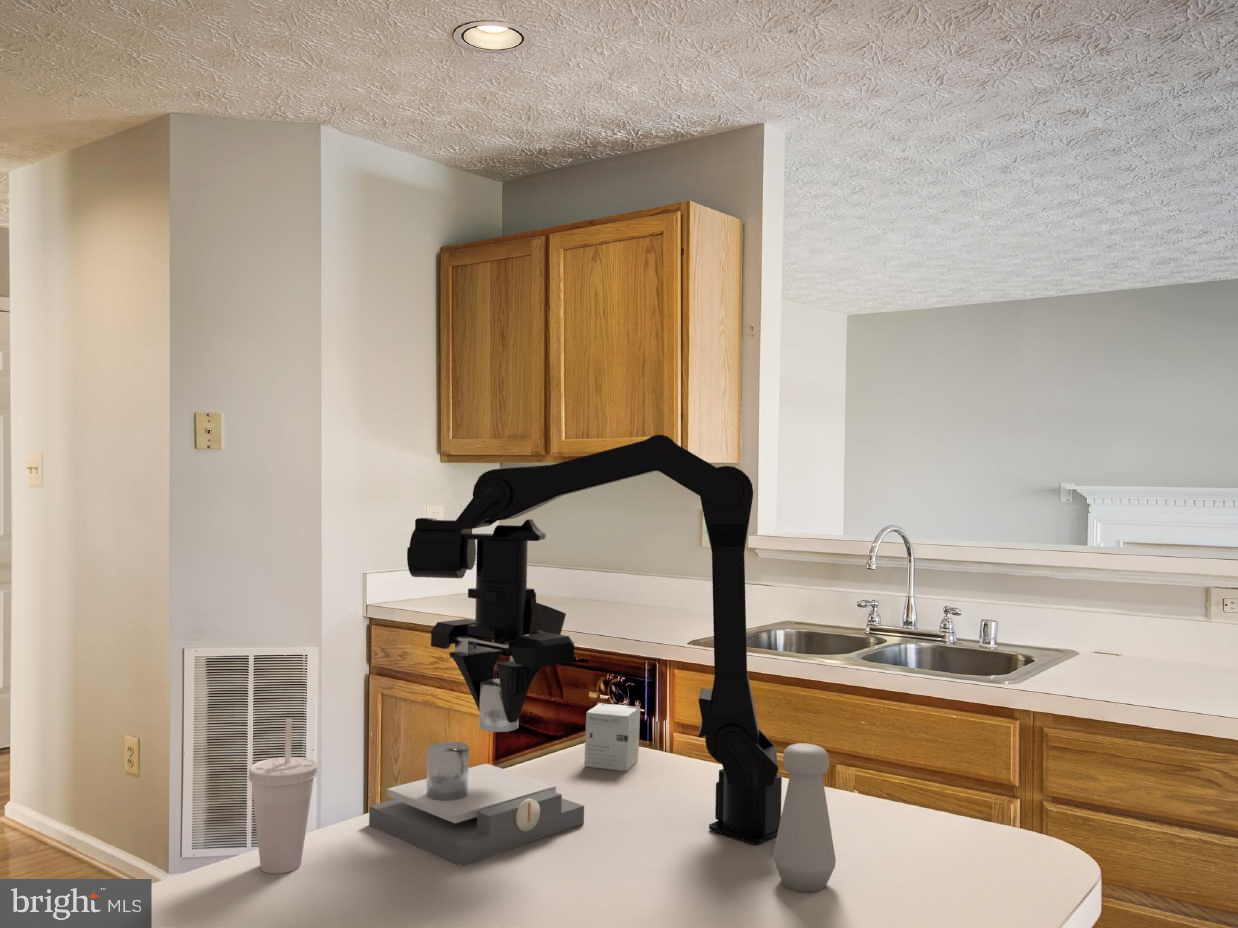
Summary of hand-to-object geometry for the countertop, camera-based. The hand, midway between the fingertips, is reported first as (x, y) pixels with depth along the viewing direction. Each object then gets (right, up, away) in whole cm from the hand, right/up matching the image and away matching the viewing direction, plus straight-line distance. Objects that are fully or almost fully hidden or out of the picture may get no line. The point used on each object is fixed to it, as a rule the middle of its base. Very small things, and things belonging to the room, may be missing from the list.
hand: (498, 718), depth 112 cm
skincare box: (+13, -12, +21) cm, 27 cm away
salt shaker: (+31, -11, -18) cm, 38 cm away
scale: (-2, -11, -3) cm, 11 cm away
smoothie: (-19, -10, -16) cm, 27 cm away
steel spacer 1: (-5, -7, -5) cm, 10 cm away
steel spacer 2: (0, -1, 0) cm, 1 cm away
